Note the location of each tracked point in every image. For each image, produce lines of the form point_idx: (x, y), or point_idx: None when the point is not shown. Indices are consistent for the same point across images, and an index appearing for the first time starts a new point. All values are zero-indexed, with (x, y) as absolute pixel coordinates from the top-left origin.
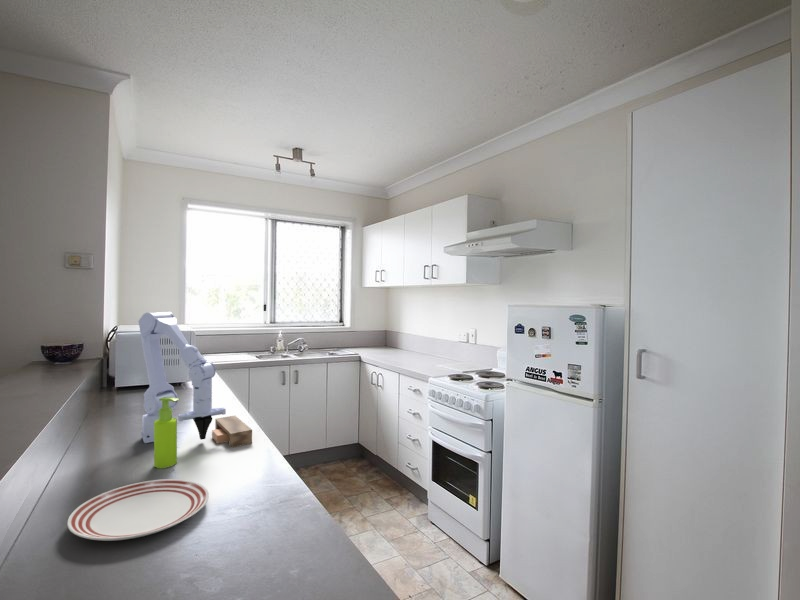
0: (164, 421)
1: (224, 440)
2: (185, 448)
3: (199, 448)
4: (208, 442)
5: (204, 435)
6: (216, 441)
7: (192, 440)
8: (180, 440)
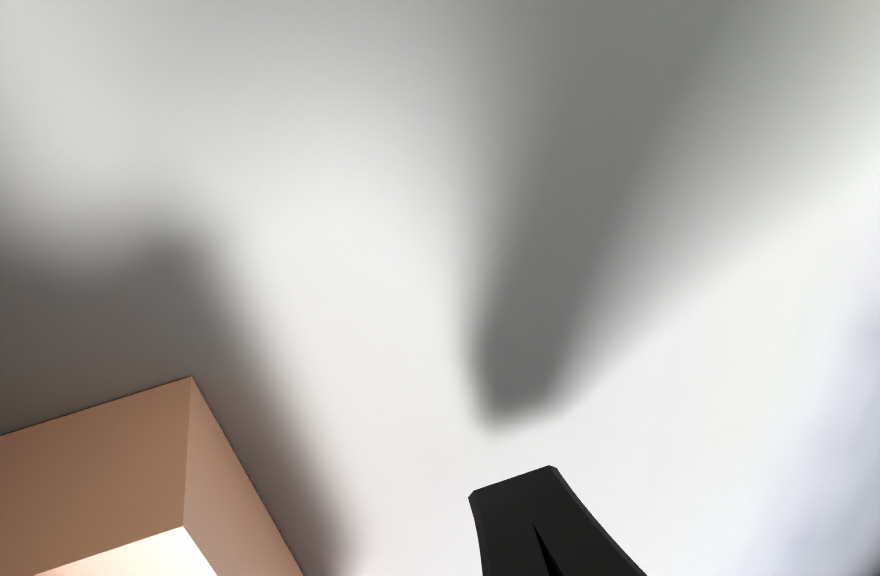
0: None
1: (19, 456)
2: (800, 246)
3: (570, 168)
4: (385, 449)
5: (515, 544)
6: (219, 442)
7: (624, 548)
8: (761, 559)
